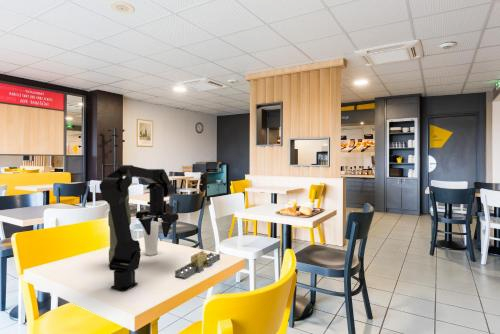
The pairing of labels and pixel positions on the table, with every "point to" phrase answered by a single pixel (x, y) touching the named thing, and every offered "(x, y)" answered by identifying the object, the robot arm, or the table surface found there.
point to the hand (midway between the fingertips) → (157, 236)
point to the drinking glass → (151, 239)
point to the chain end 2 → (212, 258)
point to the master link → (199, 259)
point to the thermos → (112, 231)
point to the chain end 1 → (188, 271)
